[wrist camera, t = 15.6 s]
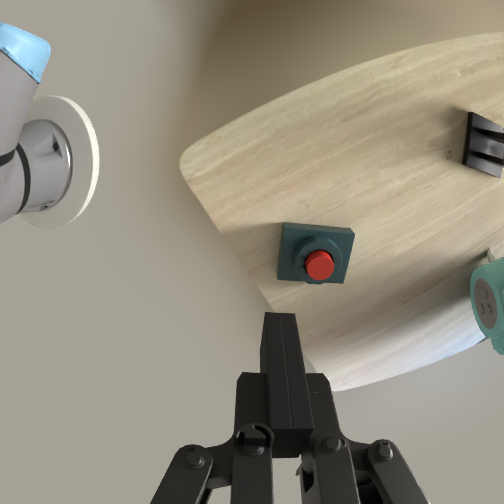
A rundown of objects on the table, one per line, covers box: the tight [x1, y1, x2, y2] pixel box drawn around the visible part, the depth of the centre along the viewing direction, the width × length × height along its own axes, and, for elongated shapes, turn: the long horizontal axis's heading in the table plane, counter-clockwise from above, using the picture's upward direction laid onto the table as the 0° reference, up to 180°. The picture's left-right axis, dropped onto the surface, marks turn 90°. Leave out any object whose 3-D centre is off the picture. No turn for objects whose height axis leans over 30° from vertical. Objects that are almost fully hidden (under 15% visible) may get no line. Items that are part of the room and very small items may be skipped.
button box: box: [277, 222, 355, 284], centre depth 40 cm, size 10×8×4 cm
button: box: [305, 250, 334, 280], centre depth 37 cm, size 4×4×2 cm
